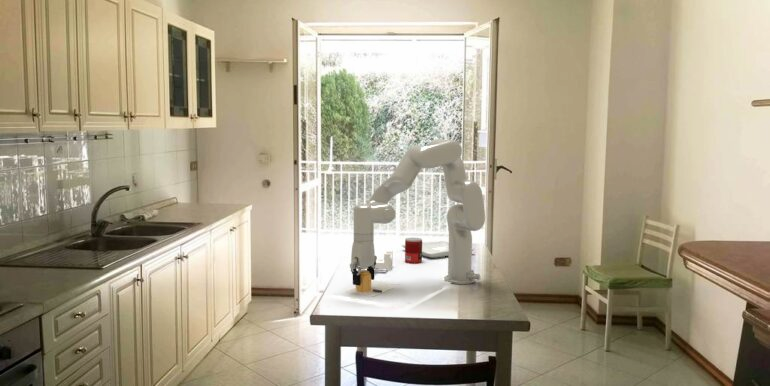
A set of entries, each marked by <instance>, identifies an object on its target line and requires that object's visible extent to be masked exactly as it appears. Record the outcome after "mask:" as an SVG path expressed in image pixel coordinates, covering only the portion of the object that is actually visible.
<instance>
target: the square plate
mask: <svg viewBox="0 0 770 386" xmlns="http://www.w3.org/2000/svg"><path fill="white" fill-rule="evenodd" d="M401 246H402V247H403V249H405V244H401ZM437 247H446V248H447V249H445V250H444V251H443V250H442V251H440V250H434V249H432V248H437ZM473 251H475V248H473V247H472V252H473ZM448 252H449V241H446V240H440V241H437V240H436V241H422V257H426V258H429V259H438V257H441V258H446V257H445V256H448Z"/></svg>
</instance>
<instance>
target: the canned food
mask: <svg viewBox="0 0 770 386" xmlns="http://www.w3.org/2000/svg"><path fill="white" fill-rule="evenodd" d="M422 242H423V239H422V238H421V237H420V238H419V237H407V238H405V241H404V245H405V248H404V261H405V263H407V264H413V265H417V264H421V263H422V261H423V255H422Z"/></svg>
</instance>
